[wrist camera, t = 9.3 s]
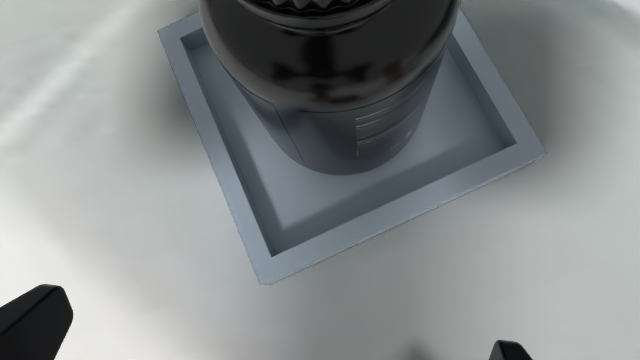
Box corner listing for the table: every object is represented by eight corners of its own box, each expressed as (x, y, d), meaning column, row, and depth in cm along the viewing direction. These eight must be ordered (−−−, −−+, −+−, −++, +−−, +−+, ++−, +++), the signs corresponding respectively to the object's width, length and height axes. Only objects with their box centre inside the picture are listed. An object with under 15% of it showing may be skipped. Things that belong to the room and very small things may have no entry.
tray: (530, 163, 19) (547, 152, 17) (270, 284, 19) (260, 285, 17) (400, -56, 22) (404, -85, 20) (174, 50, 22) (157, 30, 20)
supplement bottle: (421, 28, 20) (501, -324, 8) (424, 179, 18) (524, 16, 7) (269, 32, 21) (143, -286, 9) (261, 178, 19) (97, 28, 7)
